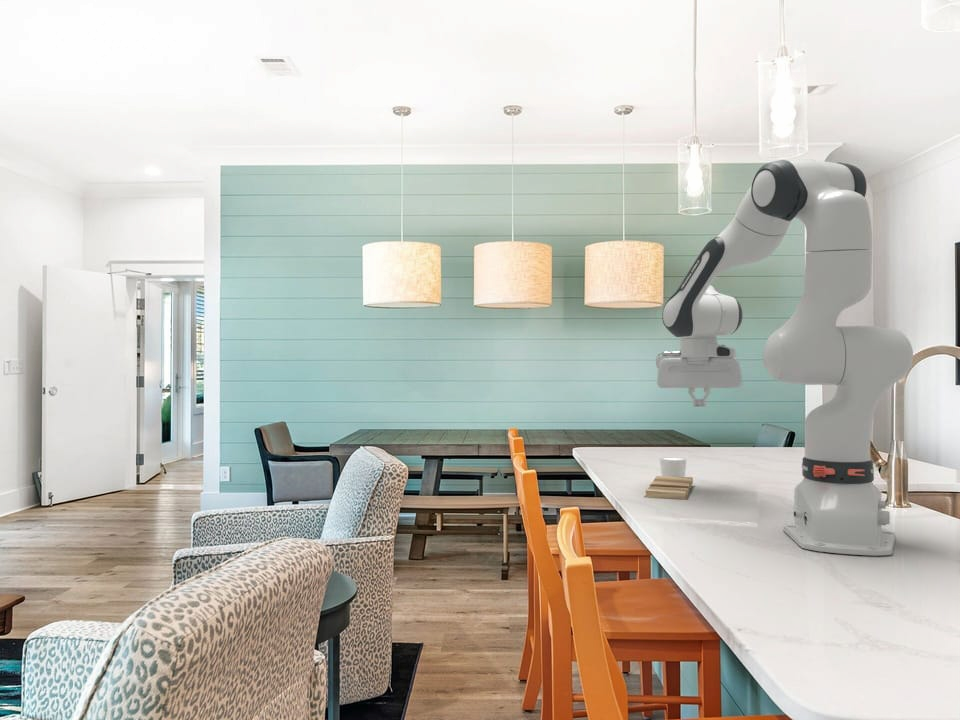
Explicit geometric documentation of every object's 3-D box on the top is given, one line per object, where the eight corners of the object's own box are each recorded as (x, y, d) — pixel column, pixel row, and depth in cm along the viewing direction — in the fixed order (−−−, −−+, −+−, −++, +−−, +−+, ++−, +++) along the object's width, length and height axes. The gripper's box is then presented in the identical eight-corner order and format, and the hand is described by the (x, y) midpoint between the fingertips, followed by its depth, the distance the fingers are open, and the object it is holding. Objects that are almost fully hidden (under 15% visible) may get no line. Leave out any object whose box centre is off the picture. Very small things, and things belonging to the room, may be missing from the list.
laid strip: (685, 499, 167) (685, 491, 167) (645, 497, 170) (645, 489, 170) (688, 494, 173) (688, 487, 173) (650, 492, 177) (649, 485, 177)
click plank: (688, 493, 174) (688, 486, 174) (650, 491, 177) (650, 484, 177) (692, 483, 185) (692, 476, 185) (656, 481, 188) (656, 474, 188)
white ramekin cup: (658, 482, 197) (658, 456, 197) (684, 483, 196) (684, 457, 196) (661, 486, 190) (661, 460, 190) (688, 487, 189) (688, 460, 189)
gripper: (654, 351, 181) (655, 406, 181) (741, 349, 174) (742, 407, 174) (657, 351, 187) (658, 405, 187) (741, 350, 180) (742, 406, 180)
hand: (699, 406), depth 180 cm, fingers closed
